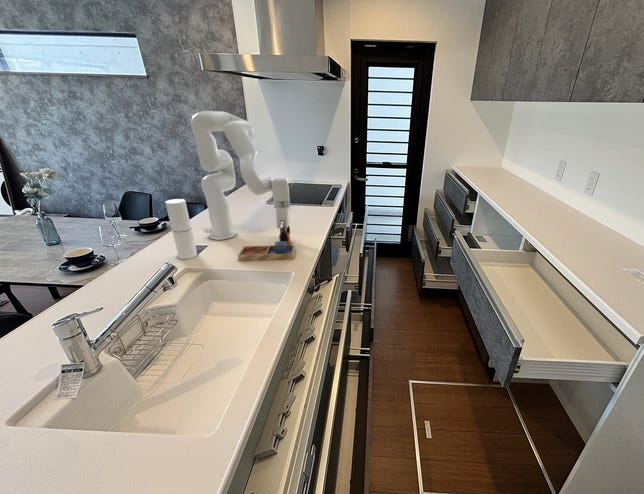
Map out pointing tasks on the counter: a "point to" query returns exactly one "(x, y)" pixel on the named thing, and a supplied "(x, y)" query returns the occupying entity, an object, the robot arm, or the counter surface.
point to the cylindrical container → (181, 228)
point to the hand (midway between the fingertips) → (285, 237)
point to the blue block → (280, 247)
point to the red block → (288, 239)
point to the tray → (264, 253)
